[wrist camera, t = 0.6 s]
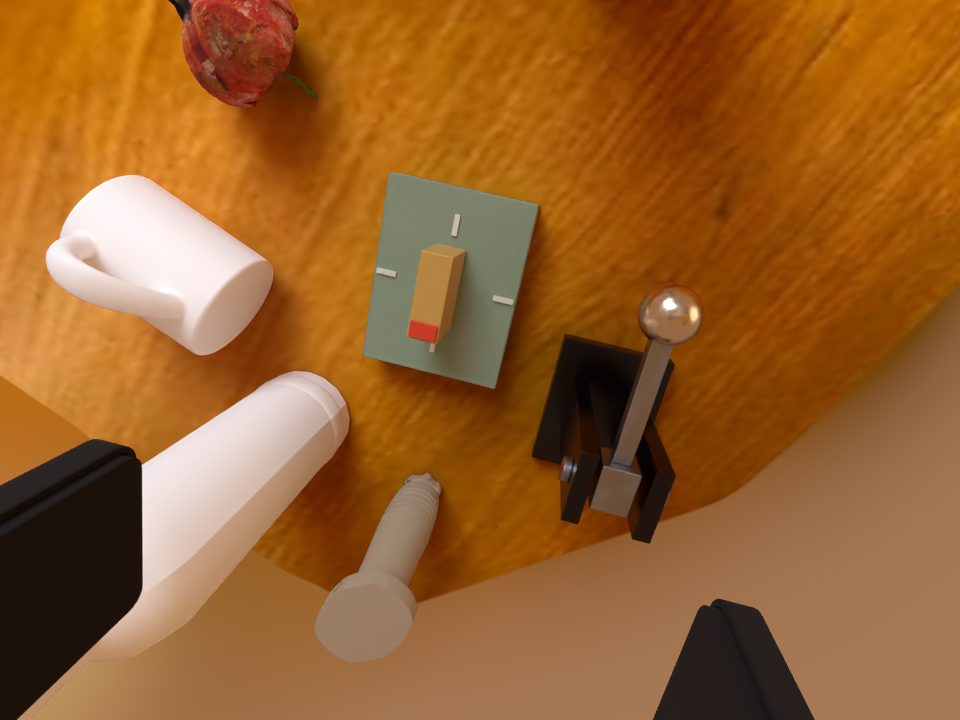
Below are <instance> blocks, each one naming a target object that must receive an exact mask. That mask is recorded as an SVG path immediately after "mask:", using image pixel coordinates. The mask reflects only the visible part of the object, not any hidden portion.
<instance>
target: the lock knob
mask: <svg viewBox="0 0 960 720" xmlns="http://www.w3.org/2000/svg"><path fill="white" fill-rule="evenodd" d="M465 253H466V250H465V249H461V248H456V247H452V246H448V245H444V244H439V243H437V244H435V245H433V246H430V247H428V248H426V249H423V250H422V251H421V255H420V261H419V267H418V272H417V278H416V284H415V290H414V296H413V301H412V307H411V313H410V319H409V325H408V331H407V337H408V338H412V339H416V340H421V341H425V342H429V343H433V344H437V343H438V342H439V341H440V340H441V338H442V337H443V336H444V335H445V333H446V332H447V331H448V330H449V328H450V327H451V323H452V318H453V313H454V308H455V303H456V298H457V293H458V288H459V283H460V278H461V273H462V268H463V263H464V258H465Z"/></svg>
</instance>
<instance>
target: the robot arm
mask: <svg viewBox="0 0 960 720" xmlns="http://www.w3.org/2000/svg"><path fill="white" fill-rule="evenodd" d="M142 587H143V531H142V464H141V462H140V460H139V459H137V458H136V454H135V452H134V450H133V449H131V448H130V447H127V446H123V445H119V444H115V443H111V442H107V441H104V440H100V439H92V440H90V441H87V442H85V443H83V444H81V445H79V446H77V447H75V448H73V449H71V450H69V451H67V452H65V453H63V454H61V455H59V456H57V457H55V458H54V459H51V460H50V461H48V462H46V463H44V464H42V465H40V466H38V467H36V468H34V469H32V470H30V471H28V472H26V473H24V474H22V475H20V476H18V477H16V478H14V479H12V480H10V481H8V482H6V483H5V484H3V485H1V486H0V720H17V719H18V718H19V717H20V716H22V715H23V714H24V713H25V712H26V711H27V710H28V709H29V708H30V707H31V706H32V705H33V704H34V703H35V702H36V701H37V700H38V699H39V698H40V697H41V696H42V695H43V694H44V693H45V692H46V691H47V690H49V689H50V688H51V687H52V686H53V685H54V684H55V683H56V682H57V681H58V680H59V679H60V678H61V677H62V676H63V675H64V674H65V673H66V672H67V671H68V670H69V669H70V668H71V667H72V666H73V665H74V664H75V663H77V662H78V661H79V660H80V659H81V658H82V657H83V656H84V655H85V654H86V653H87V652H88V651H89V650H90V649H91V648H92V647H93V646H94V645H95V644H96V643H97V642H98V641H99V640H100V639H101V638H102V637H104V636H105V635H106V634H107V633H108V632H109V631H110V630H111V629H112V628H113V627H114V626H115V625H116V624H117V623H118V622H119V621H120V620H121V619H122V618H123V617H124V616H125V615H126V614H127V613H128V612H129V611H130V610H131V609H132V608H133V607H134V606H135V604H136V603H137V601H138V599H139V597H140V595H141V592H142ZM653 720H814V718H813V715H812V714H811V712H810V710H809V708H808V706H807V704H806V702H805V700H804V698H803V696H802V694H801V692H800V690H799V688H798V686H797V684H796V682H795V680H794V678H793V676H792V674H791V672H790V670H789V668H788V666H787V664H786V662H785V660H784V658H783V656H782V654H781V652H780V650H779V648H778V646H777V644H776V642H775V640H774V638H773V636H772V634H771V632H770V631H769V628H768V626H767V624H766V622H765V620H764V618H763V616H762V615H761V613H760V612H759V610H757V609H755V608H753V607H749V606H745V605H741V604H737V603H733V602H730V601H726V600H722V599H716V600H714V601H713V602H712V604H711V606H710V607H709V606H706V605H704V606H701V607H700V608H699V610H698V612H697V614H696V617H695V619H694V621H693V624H692V626H691V629H690V631H689V633H688V636H687V638H686V641H685V643H684V646H683V648H682V650H681V653H680V655H679V658H678V660H677V663H676V665H675V667H674V670H673V672H672V675H671V677H670V680H669V682H668V684H667V687H666V689H665V692H664V694H663V696H662V699H661V701H660V704H659V706H658V708H657V711H656V713H655V716H654V718H653Z"/></svg>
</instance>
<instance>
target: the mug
mask: <svg viewBox="0 0 960 720" xmlns="http://www.w3.org/2000/svg"><path fill="white" fill-rule="evenodd" d="M46 265H47V268H48V271H49V273H50V275H51V276H52V278H53V279H54V280H55V282H56V283H57V284H58V285H59V286H60V287H61V288H63V289H64V290H65V291H66V292H68V293H69V294H71V295H73V296H74V297H76V298H78V299H80V300H82V301H85V302H87V303H90V304H92V305H95V306H98V307H102V308H105V309H109V310H113V311H118V312H122V313H127V314H133V315H137V316H139V317H140V318H142V319H143V320H145V321H146V322H148V323H149V324H151V325H152V326H154V327H155V328H157V329H158V330H160V331H161V332H163V333H164V334H166V335H167V336H169V337H170V338H172V339H173V340H175V341H176V342H178V343H179V344H181V345H182V346H184V347H185V348H187V349H188V350H190V351H191V352H193V353H194V354H197V355H208V354H211V353H214V352H216V351H218V350H220V349H221V348H223V347H224V346H226V345H227V344H228V343H230V342H231V341H232V340H233V339H234V338H236V337H237V336H238V335H239V334H240V333H241V332H242V331H243V330H244V329H245V327H246V326H247V325H248V324H249V323H250V322H251V320H252V319H253V318H254V316H255V315H256V314H257V312H258V311H259V309H260V308H261V306H262V305H263V303H264V301H265V299H266V297H267V295H268V293H269V291H270V288H271V285H272V281H273V275H274V272H273V267H272V265H271V263H270V262H269V261H268V260H266V259H265V258H263V257H262V256H260V255H259V254H258V253H256V252H255V251H253V250H252V249H250V248H249V247H247V246H246V245H244V244H243V243H242V242H240V241H239V240H237V239H236V238H234V237H233V236H231V235H230V234H228V233H227V232H226V231H224V230H223V229H221V228H220V227H218V226H217V225H215V224H214V223H212V222H211V221H210V220H208V219H207V218H205V217H204V216H202V215H201V214H199V213H198V212H196V211H195V210H194V209H192V208H191V207H189V206H188V205H186V204H185V203H183V202H182V201H181V200H179V199H178V198H176V197H175V196H173V195H172V194H170V193H169V192H167V191H166V190H165V189H163V188H162V187H160V186H159V185H157V184H156V183H154V182H153V181H151V180H150V179H148V178H146V177H142V176H137V175H127V176H121V177H117V178H114V179H111V180H109V181H106V182H104V183H102V184H101V185H99V186H97V187H96V188H94V189H93V190H92V191H90V192H89V193H88V194H87V195H86V196H84V197H83V198H82V199H81V200H80V201H79V203H78V204H77V205H76V206H75V207H74V209H73V210H72V211H71V213H70V214H69V216H68V218H67V219H66V221H65V224H64V226H63V228H62V231H61V235H60V239H59V240H57V241H55V242H54V243H53V244H52V245H51V246H50V247H49V249H48V251H47V254H46Z"/></svg>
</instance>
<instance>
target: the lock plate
mask: <svg viewBox="0 0 960 720" xmlns="http://www.w3.org/2000/svg"><path fill="white" fill-rule="evenodd" d="M539 207H540V205H539V204H535V203H531V202H526V201H522V200H517V199H513V198H508V197H504V196H500V195H495V194H491V193H486V192H482V191H478V190H473V189H469V188H464V187H460V186H455V185H451V184H447V183H442V182H438V181H433V180H429V179H425V178H420V177H416V176H411V175H407V174H402V173H394V172H389V177H388V184H387V191H386V198H385V205H384V212H383V219H382V226H381V233H380V240H379V247H378V254H377V260H376V267H375V274H374V281H373V288H372V295H371V302H370V309H369V316H368V323H367V330H366V337H365V343H364V350H363V356H365V357H369V358H373V359H377V360H381V361H385V362H389V363H393V364H397V365H401V366H405V367H409V368H413V369H417V370H421V371H425V372H429V373H433V374H437V375H441V376H445V377H449V378H453V379H457V380H461V381H465V382H469V383H473V384H477V385H481V386H485V387H489V388H493V389H495V387H496V383H497V380H498V377H499V374H500V370H501V365H502V361H503V357H504V353H505V349H506V344H507V340H508V336H509V332H510V328H511V324H512V319H513V315H514V311H515V307H516V303H517V299H518V294H519V290H520V286H521V282H522V278H523V274H524V269H525V265H526V261H527V257H528V253H529V249H530V244H531V240H532V236H533V232H534V228H535V224H536V219H537V215H538V211H539ZM437 243H439V244H444V245H448V246H452V247H456V248H461V249H465V250H466V253H465V258H464V263H463V268H462V273H461V278H460V283H459V288H458V293H457V298H456V303H455V308H454V313H453V318H452V323H451V327H450V328H449V330H448V331H447V332H446V333H445V335H444V336H443V337H442V338H441V340H440V341H439V342H438V343H437V344H433V343H429V342H425V341H421V340H416V339H412V338H408V337H407V331H408V325H409V319H410V313H411V307H412V301H413V296H414V290H415V284H416V278H417V272H418V267H419V261H420V255H421V251H422V250H423V249H426V248H428V247H430V246H433V245H435V244H437Z"/></svg>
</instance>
